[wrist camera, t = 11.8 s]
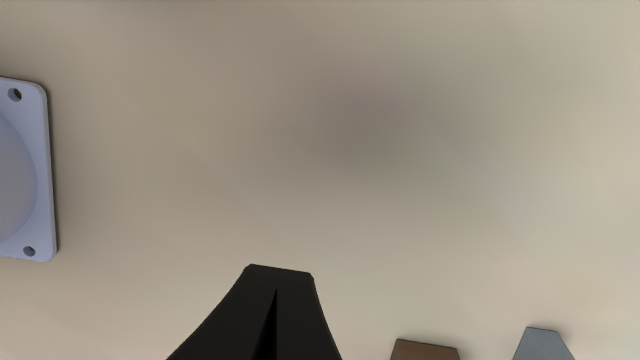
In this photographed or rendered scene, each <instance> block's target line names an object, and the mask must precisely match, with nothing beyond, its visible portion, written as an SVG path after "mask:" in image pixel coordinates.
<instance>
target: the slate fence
mask: <svg viewBox="0 0 640 360" xmlns="http://www.w3.org/2000/svg"><path fill="white" fill-rule="evenodd" d="M513 360H575V359H574V357H573V355H572V354H571V352H570V351H569V349H568V348H567V346H566V345H565V343H564V342H563V340H562V339H561V337H560V335H559V334H558V332H554V331H548V330H541V329H534V328H528V327H527V329H526V331H525V333H524V335H523V338H522V340H521V342H520V345H519V347H518V349H517V351H516V354H515V356H514V358H513Z"/></svg>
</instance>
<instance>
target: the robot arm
mask: <svg viewBox="0 0 640 360" xmlns="http://www.w3.org/2000/svg"><path fill="white" fill-rule="evenodd" d="M14 89H18V90H19V91H20V92H21V95H22V98H21V99H19V98H18V97H17V96H16V95H15V93H14ZM29 246H30V247H32V248H33V249H34V250H35V252H34V251H32V250H31V249H30V248H29ZM56 252H57V248H56V232H55V217H54V202H53V186H52V171H51V156H50V141H49V125H48V110H47V97H46V93H45V91H44V90H43V88H42V87H41V86H39V85H38V84H36V83H33V82H27V81H22V80H16V79H10V78H4V77H0V256H5V257H12V258H18V259H25V260H32V261H38V262H48V261H50V260H51V259H52V258H53V257H54V256H55V255H56ZM166 360H342V358H341V355H340V353H339V351H338V349H337V346H336V344H335V342H334V339H333V337H332V334H331V332H330V330H329V327H328V325H327V322H326V319H325V317H324V314H323V311H322V308H321V305H320V302H319V299H318V295H317V292H316V287H315V283H314V278H313V277H312V275H311V274H310V273H308V272H302V271H295V270H289V269H282V268H276V267H269V266H263V265H256V264H250V265H248V266H247V267H245V268H244V270H243V272H242V274H241V275H240V277H239V278H238V280H237V281H236V282H235V284H234V285H233V287H232V288H231V289H230V291H229V292H228V293H227V294H226V296H225V297H224V298H223V299H222V301H221V302H220V303H219V304H218V305H217V306H216V308H215V309H214V310H213V311H212V312H211V313H210V314H209V316H208V317H207V318H206V319H205V320H204V321H203V322H202V324H201V325H200V326H199V327H198V328H197V329H196V330H195V331H194V332H193V333H192V334H191V335H190V336H189V337H188V338H187V339H186V340H185V341H184V342H183V343H182V344H181V345H180V346H179V347H178V348H177V349H176V350H175V351H174V352H173V353H172V354H171V355H170V356H169V357H168V358H167V359H166Z"/></svg>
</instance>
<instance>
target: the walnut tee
mask: <svg viewBox="0 0 640 360" xmlns="http://www.w3.org/2000/svg"><path fill="white" fill-rule="evenodd" d="M390 360H460V358H459V355H458V352H457V349H453V348H447V347H441V346H434V345H428V344H422V343H415V342H409V341H403V340H396V343H395V347H394V350H393V353H392V356H391V359H390Z"/></svg>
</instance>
